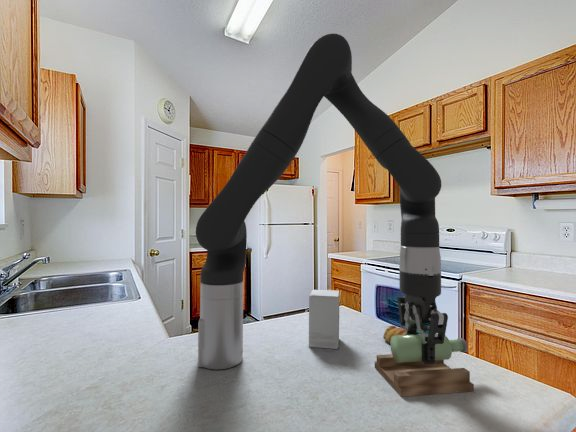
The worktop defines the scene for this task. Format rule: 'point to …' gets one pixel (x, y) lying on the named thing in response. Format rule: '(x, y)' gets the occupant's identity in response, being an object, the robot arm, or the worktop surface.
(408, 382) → the cradle
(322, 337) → the supplement box
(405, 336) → the bottle
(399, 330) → the pastry
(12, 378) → the worktop surface
